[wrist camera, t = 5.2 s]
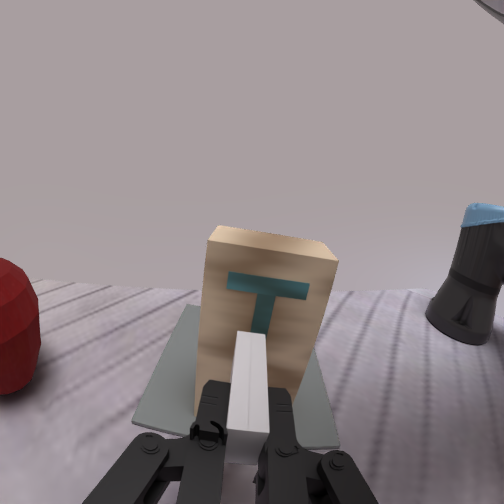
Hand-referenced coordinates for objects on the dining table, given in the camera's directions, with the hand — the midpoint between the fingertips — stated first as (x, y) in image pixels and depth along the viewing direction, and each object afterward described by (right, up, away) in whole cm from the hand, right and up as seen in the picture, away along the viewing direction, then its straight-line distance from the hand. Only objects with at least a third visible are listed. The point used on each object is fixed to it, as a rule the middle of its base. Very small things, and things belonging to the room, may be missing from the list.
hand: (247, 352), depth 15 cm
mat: (-1, -6, +11) cm, 13 cm away
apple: (-22, -6, 0) cm, 22 cm away
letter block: (-1, -7, +6) cm, 9 cm away
